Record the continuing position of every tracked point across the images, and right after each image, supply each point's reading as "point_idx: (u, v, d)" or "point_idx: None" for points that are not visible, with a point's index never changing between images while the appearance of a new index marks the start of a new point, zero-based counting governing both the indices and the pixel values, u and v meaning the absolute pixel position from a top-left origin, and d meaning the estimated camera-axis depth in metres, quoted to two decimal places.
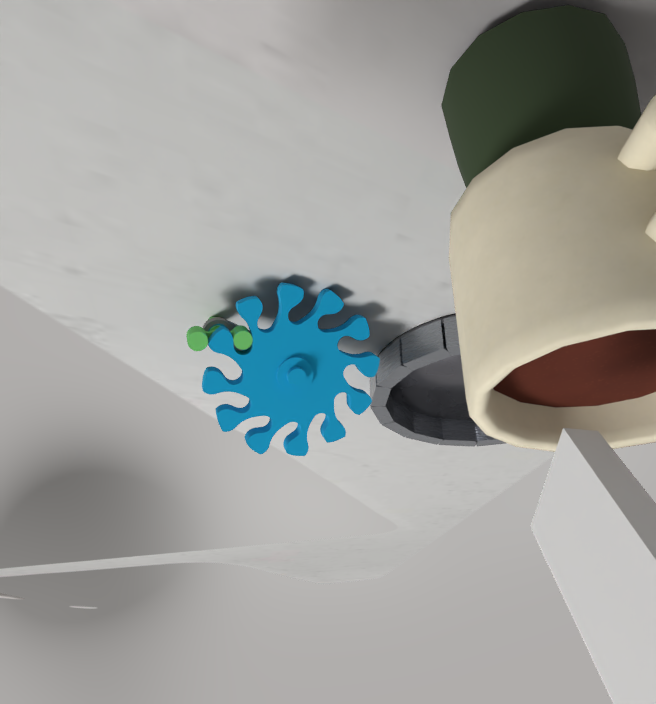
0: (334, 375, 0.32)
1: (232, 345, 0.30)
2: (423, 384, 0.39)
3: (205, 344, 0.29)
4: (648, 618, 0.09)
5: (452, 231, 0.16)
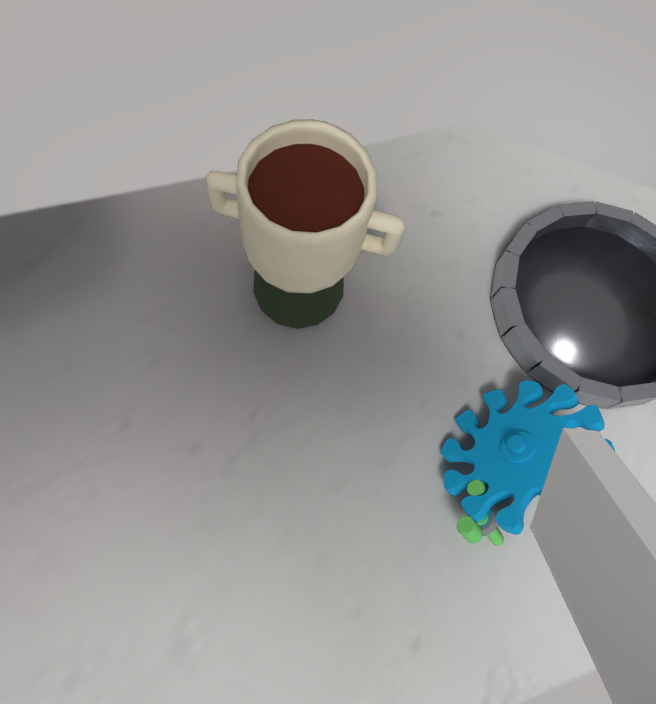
0: (529, 415, 0.35)
1: (477, 496, 0.33)
2: (607, 357, 0.40)
3: (469, 518, 0.32)
4: (648, 618, 0.09)
5: (286, 286, 0.32)
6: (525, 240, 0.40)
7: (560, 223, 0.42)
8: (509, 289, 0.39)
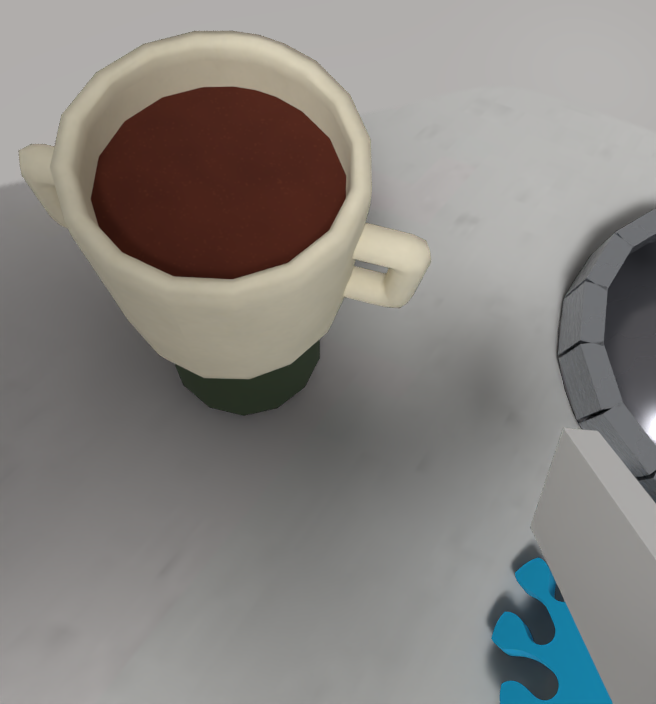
0: None
1: None
2: None
3: None
4: (648, 618, 0.09)
5: (198, 371, 0.16)
6: (615, 262, 0.25)
7: None
8: (594, 345, 0.24)
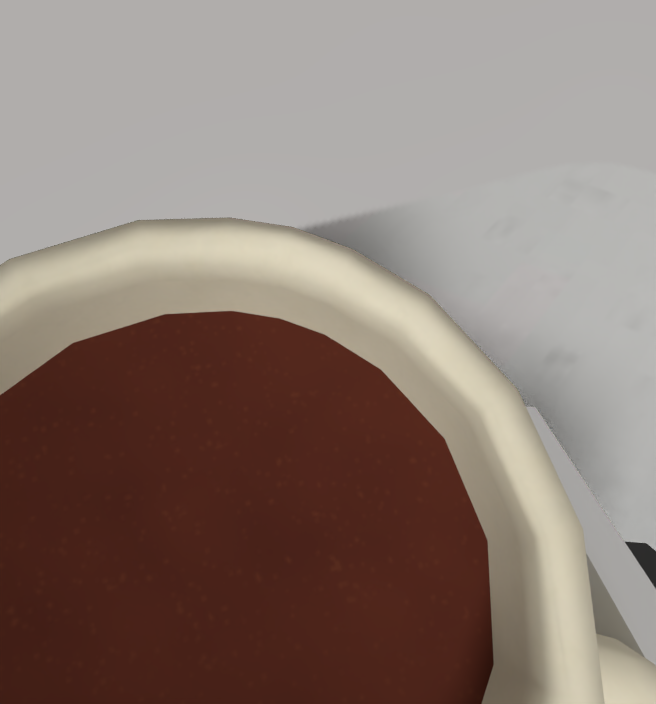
0: None
1: None
2: None
3: None
4: None
5: None
6: None
7: None
8: None
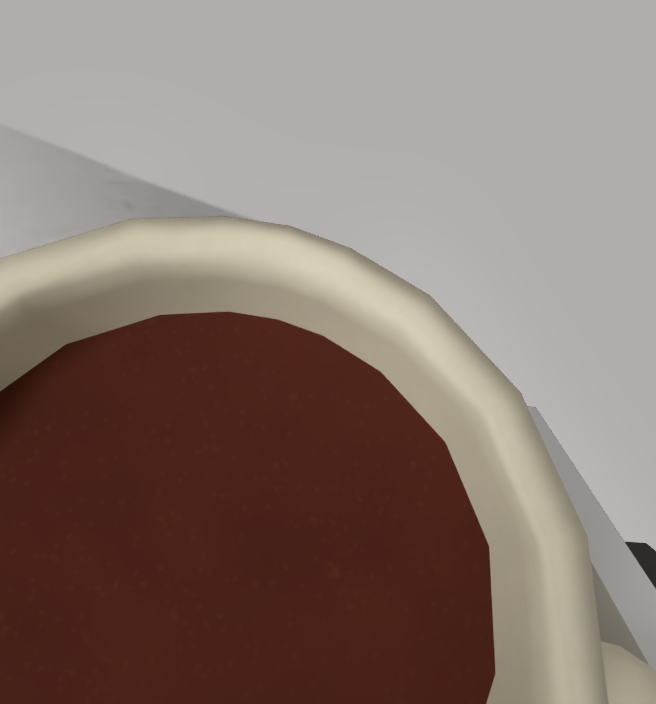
0: None
1: None
2: None
3: None
4: None
5: None
6: None
7: None
8: None
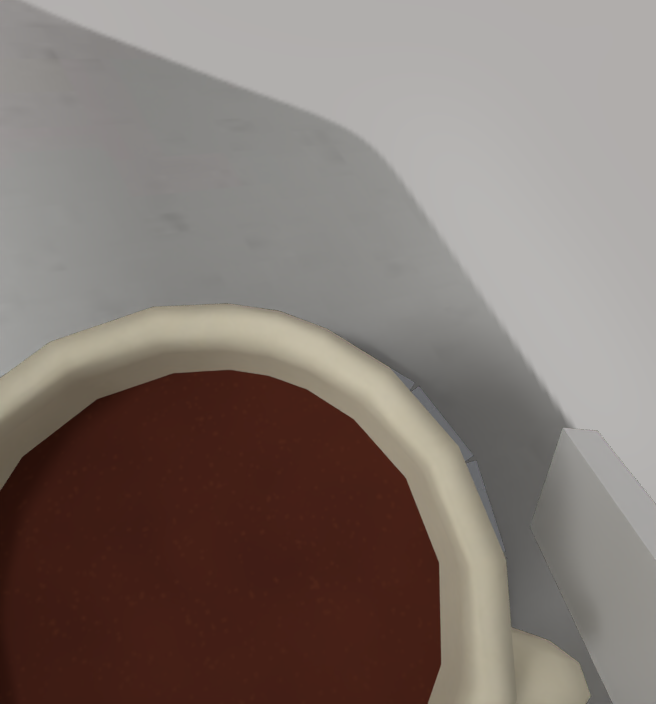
0: None
1: None
2: None
3: None
4: (647, 618, 0.09)
5: None
6: None
7: None
8: None
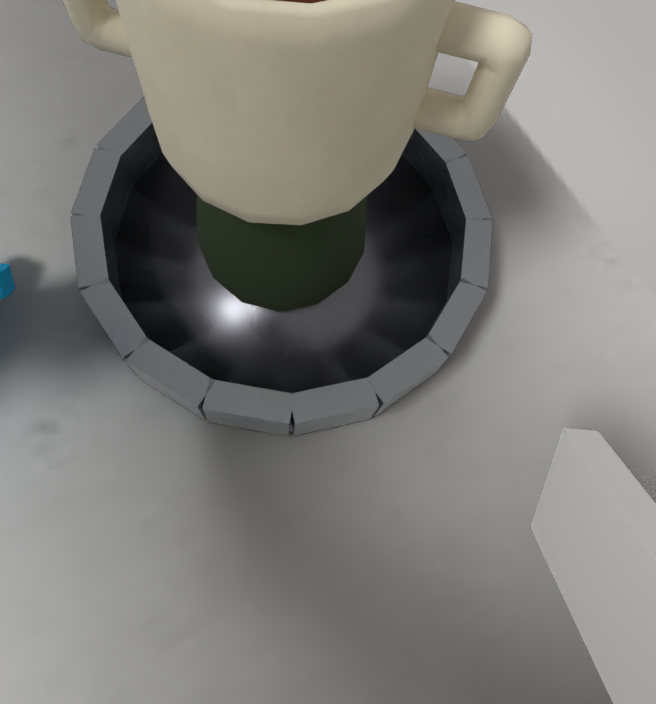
0: None
1: None
2: (223, 316, 0.21)
3: None
4: (648, 618, 0.09)
5: (244, 205, 0.14)
6: None
7: None
8: None
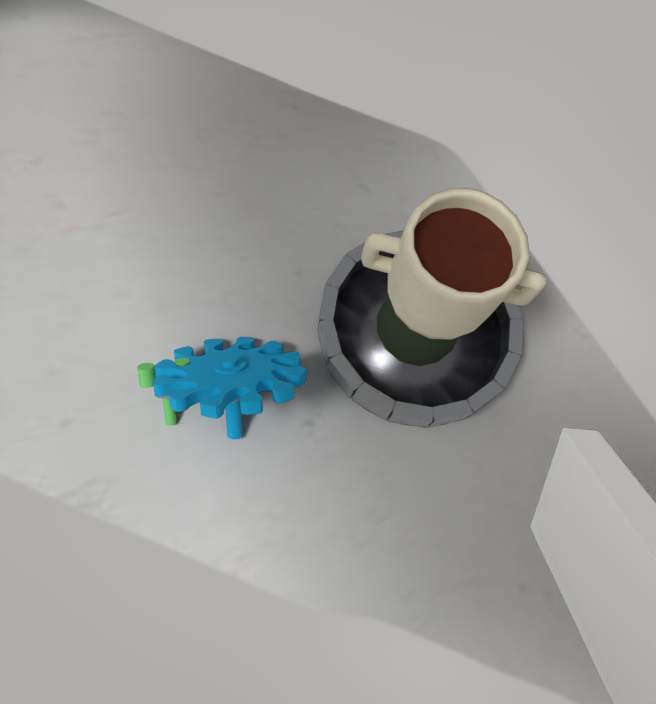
0: (265, 363, 0.38)
1: (173, 363, 0.38)
2: (389, 368, 0.42)
3: (152, 366, 0.37)
4: (648, 618, 0.09)
5: (432, 334, 0.35)
6: None
7: None
8: (351, 260, 0.43)
